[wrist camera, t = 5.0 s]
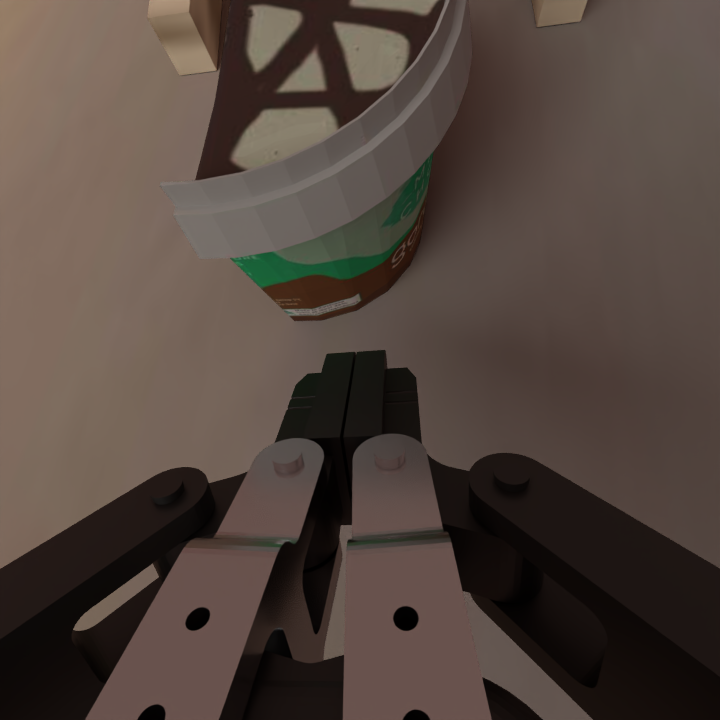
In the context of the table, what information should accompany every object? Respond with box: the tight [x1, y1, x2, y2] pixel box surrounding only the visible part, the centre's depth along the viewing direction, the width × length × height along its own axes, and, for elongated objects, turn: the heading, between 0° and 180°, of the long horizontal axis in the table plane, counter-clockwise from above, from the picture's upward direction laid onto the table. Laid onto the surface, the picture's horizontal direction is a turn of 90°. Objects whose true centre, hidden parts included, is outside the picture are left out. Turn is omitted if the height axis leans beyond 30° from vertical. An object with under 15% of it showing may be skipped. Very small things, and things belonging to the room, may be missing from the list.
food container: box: [160, 0, 472, 321], centre depth 15 cm, size 12×6×10 cm, turn 173°
